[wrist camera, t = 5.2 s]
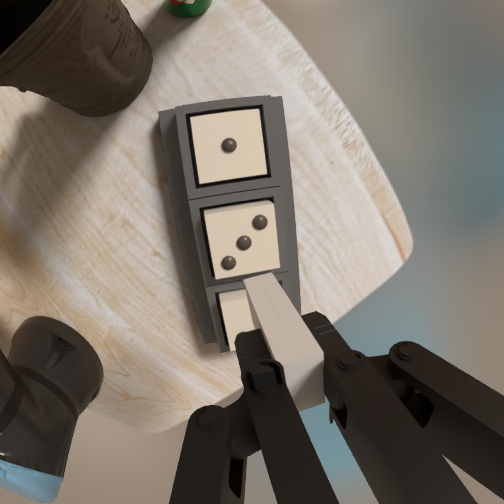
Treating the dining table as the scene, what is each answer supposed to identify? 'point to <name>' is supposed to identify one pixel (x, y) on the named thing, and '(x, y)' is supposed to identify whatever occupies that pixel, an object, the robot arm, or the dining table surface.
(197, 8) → the soda can
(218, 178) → the tile one dot
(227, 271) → the tile three dots
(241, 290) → the tile two dots
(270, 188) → the button panel
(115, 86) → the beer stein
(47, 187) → the dining table surface
